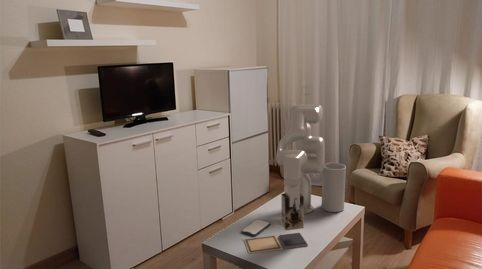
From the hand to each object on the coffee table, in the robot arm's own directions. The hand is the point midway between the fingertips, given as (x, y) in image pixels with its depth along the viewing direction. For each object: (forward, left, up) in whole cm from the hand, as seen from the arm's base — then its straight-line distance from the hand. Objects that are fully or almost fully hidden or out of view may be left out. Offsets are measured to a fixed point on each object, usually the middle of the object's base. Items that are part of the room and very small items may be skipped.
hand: (292, 216), depth 175 cm
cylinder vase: (-30, +33, -13) cm, 47 cm away
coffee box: (0, 0, -5) cm, 5 cm away
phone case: (-17, -14, -14) cm, 26 cm away
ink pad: (0, 0, -13) cm, 13 cm away
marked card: (-1, -14, -13) cm, 19 cm away
